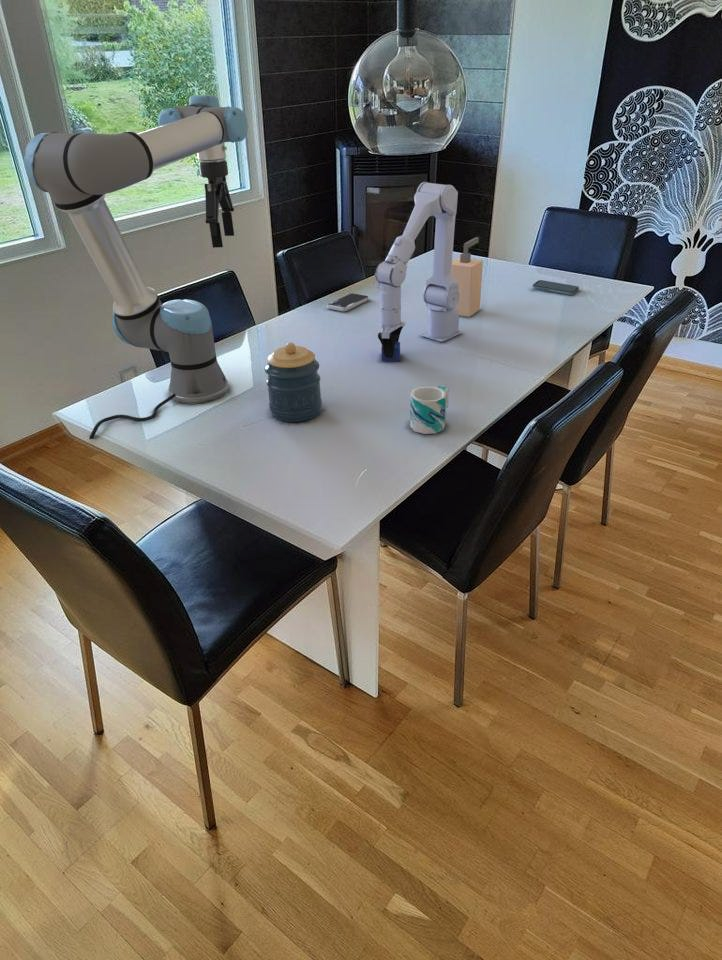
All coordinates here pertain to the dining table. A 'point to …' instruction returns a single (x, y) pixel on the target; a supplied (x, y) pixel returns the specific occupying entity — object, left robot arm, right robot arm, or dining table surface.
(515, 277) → the dining table surface
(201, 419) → the dining table surface
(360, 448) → the dining table surface
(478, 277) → the soap dispenser
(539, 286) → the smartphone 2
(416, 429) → the mug
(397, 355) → the block
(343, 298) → the smartphone
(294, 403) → the canister
